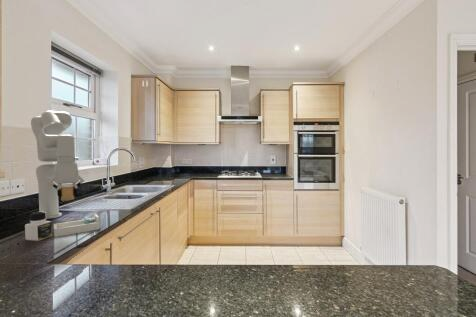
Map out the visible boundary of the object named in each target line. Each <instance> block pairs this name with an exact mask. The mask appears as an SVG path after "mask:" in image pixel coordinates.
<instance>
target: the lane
mask: <svg viewBox="0 0 476 317" xmlns="http://www.w3.org/2000/svg"><path fill="white" fill-rule="evenodd" d="M93 219H95V222H94V223H88V224H85V220H84V219H79V220H72V221H71V220H70V221H65V222H59V223H53V234H54V237H61V236H67V235H73V234H74V235H75V234H79V233H85V232H92V231H97V230H100V229H101V227H100V216H99V215H98V214H97V213H94V214H93V217H92V218H89V220H93Z"/></svg>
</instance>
